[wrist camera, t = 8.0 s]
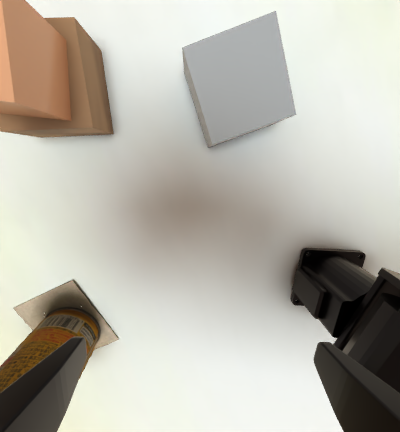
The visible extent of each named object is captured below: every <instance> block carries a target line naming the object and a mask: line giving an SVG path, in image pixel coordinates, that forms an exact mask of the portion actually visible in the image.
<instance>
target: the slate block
mask: <svg viewBox="0 0 400 432" xmlns="http://www.w3.org/2000/svg"><path fill="white" fill-rule="evenodd" d="M182 50H183V63H184V74H185V77H186V80H187V83H188V86H189V89H190V92H191V95H192V99H193V102H194V105H195V108H196V111H197V114H198V117H199V120H200V124H201V127H202V130H203V133H204V136H205V139H206V142H207V145H208V148H209V147H212V146H214V145H217V144H220V143H223V142H225V141H228V140H231V139H234V138H236V137H239V136H242V135H245V134H247V133H250V132H253V131H255V130H258V129H261V128H264V127H266V126H269V125H272V124H275V123H277V122H279V121H282V120H284V119H286V118H289V117H291V116H293V115H296V111H295V106H294V101H293V96H292V91H291V86H290V81H289V76H288V70H287V65H286V60H285V55H284V50H283V45H282V40H281V35H280V30H279V24H278V19H277V14H276V11H274V12H272V13H269V14H267V15H264V16H262V17H259V18H257V19H254V20H251V21H249V22H246V23H244V24H241V25H239V26H236V27H234V28H231V29H228V30H226V31H223V32H221V33H218V34H216V35H213V36H211V37H208V38H206V39H203V40H200V41H198V42H195V43H193V44H190V45H188V46H185V47H183V48H182Z"/></svg>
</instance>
